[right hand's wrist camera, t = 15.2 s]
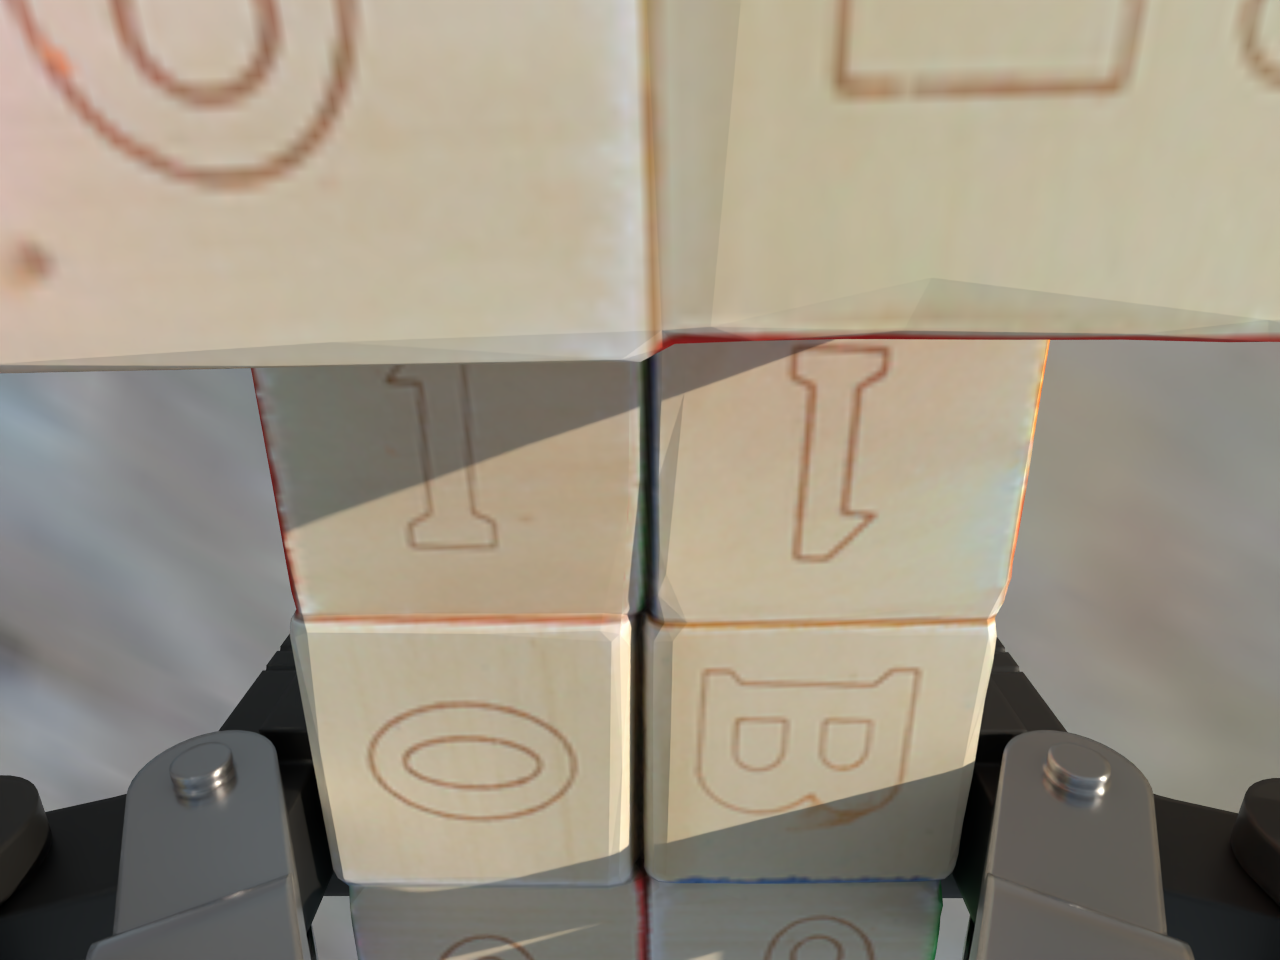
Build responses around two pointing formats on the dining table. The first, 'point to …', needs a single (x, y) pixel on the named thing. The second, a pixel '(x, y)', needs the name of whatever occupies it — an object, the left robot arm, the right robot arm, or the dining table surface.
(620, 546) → the stack of blocks
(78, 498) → the dining table surface
